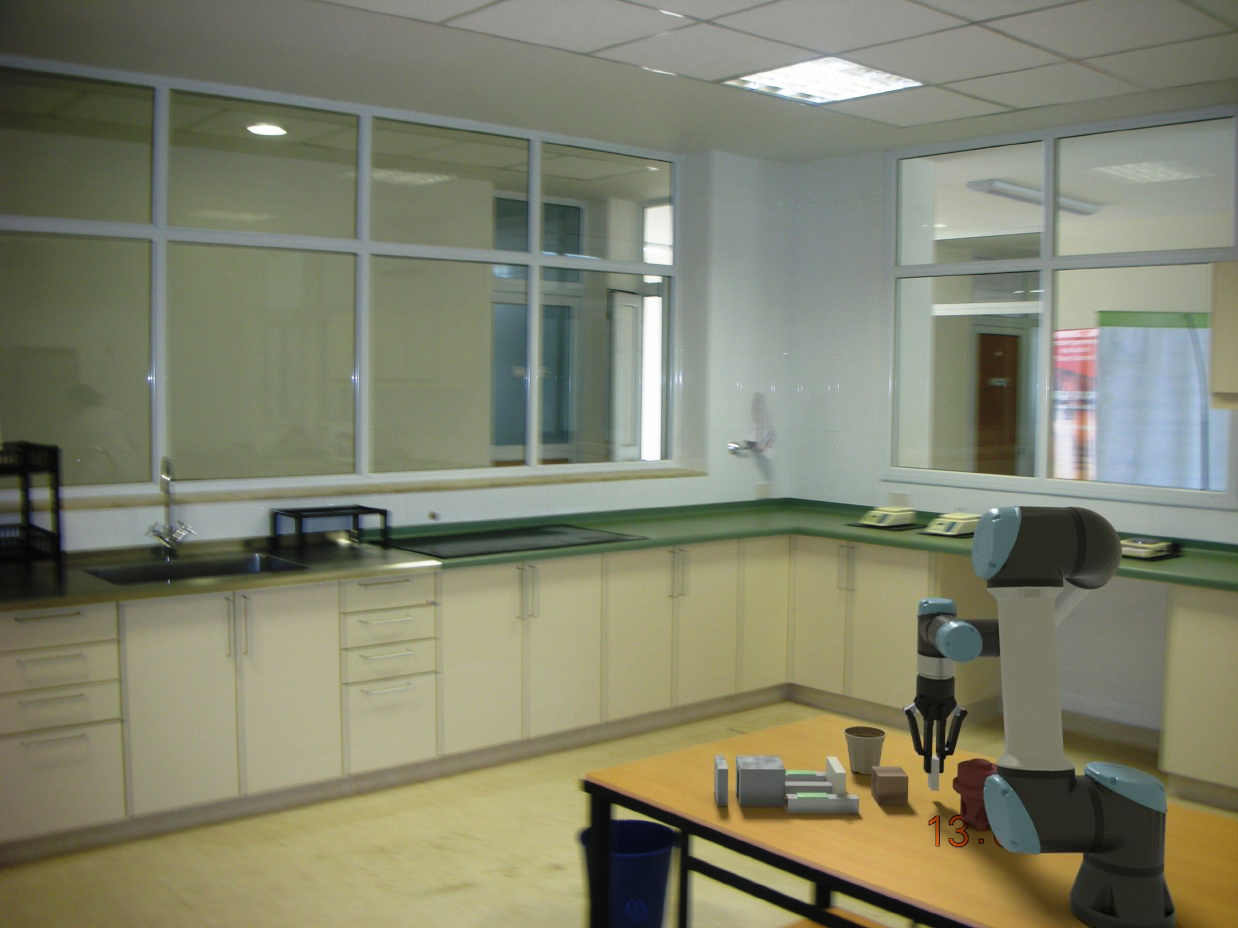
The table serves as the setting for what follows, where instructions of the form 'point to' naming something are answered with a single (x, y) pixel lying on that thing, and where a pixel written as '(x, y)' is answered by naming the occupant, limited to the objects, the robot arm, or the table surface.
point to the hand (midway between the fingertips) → (933, 788)
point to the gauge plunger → (831, 786)
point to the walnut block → (889, 785)
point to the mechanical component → (973, 790)
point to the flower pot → (864, 747)
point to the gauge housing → (777, 787)
